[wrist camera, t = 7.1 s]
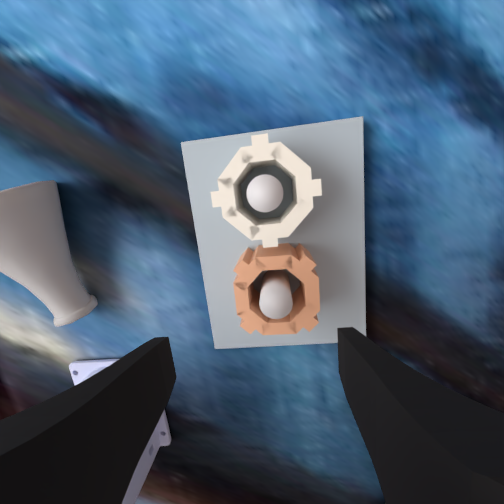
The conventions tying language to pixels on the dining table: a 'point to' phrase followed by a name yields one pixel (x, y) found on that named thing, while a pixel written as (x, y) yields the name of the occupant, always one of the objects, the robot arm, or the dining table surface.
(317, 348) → the dining table surface
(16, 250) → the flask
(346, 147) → the gear board
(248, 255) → the gear
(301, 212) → the gear
